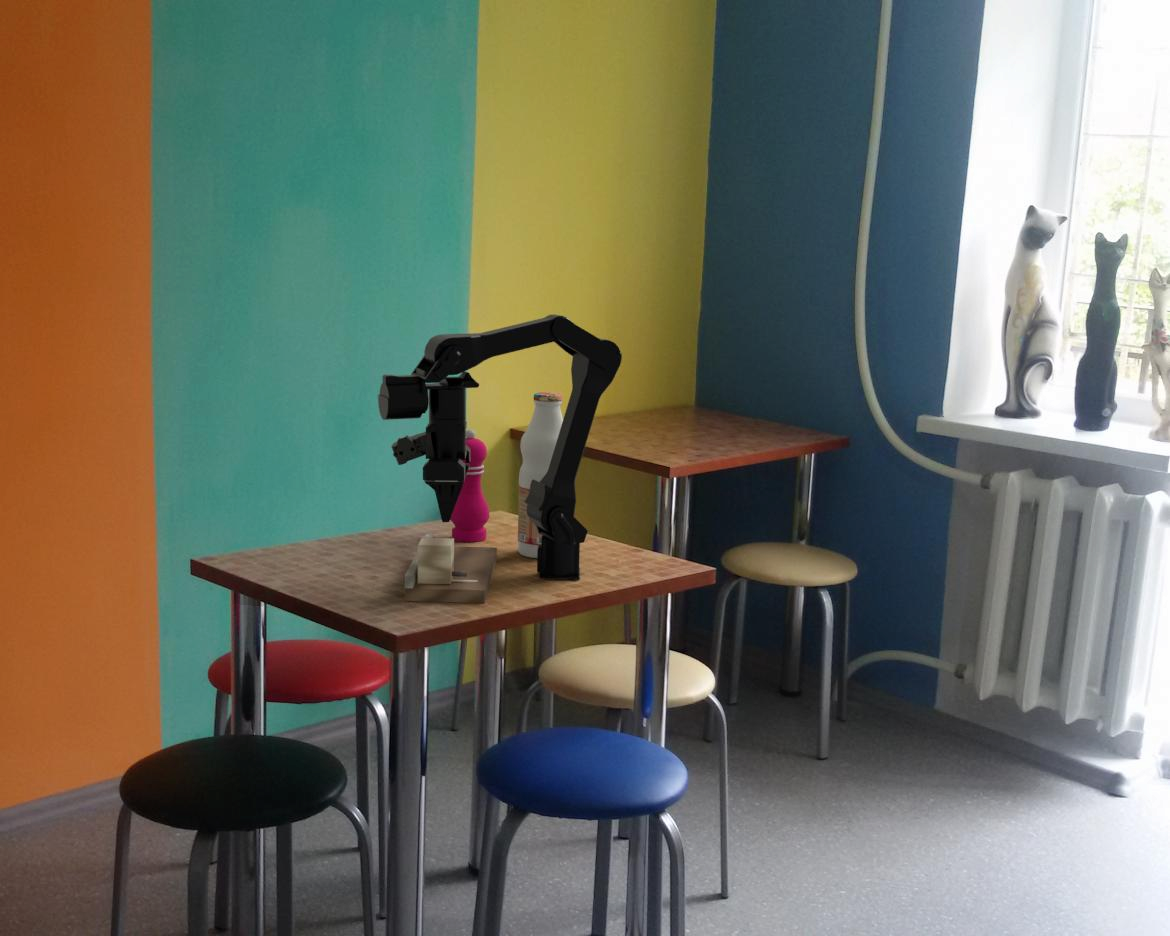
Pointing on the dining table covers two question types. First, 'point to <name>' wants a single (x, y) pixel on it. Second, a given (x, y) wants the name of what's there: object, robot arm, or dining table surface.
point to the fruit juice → (536, 462)
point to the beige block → (437, 561)
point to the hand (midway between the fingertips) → (447, 515)
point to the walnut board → (461, 588)
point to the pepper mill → (471, 497)
